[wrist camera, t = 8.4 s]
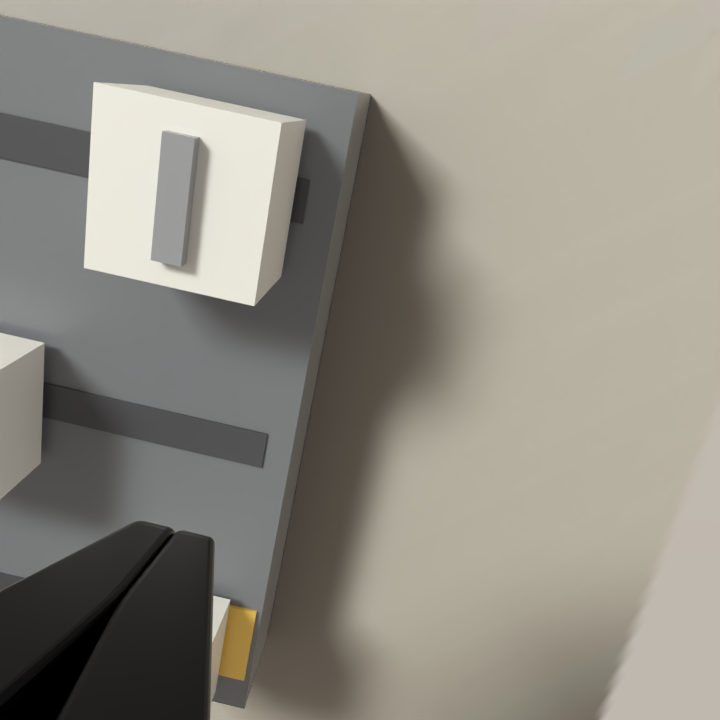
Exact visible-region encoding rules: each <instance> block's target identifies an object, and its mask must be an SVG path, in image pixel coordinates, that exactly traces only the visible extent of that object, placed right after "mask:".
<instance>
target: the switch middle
mask: <svg viewBox="0 0 720 720" xmlns="http://www.w3.org/2000/svg"><path fill="white" fill-rule="evenodd" d="M44 349H45V343H43V342H39V341H34V340H30V339H26V338H21V337H17V336H13V335H8V334H4V333H0V499H1V498H3V497H4V496H5V495H6V494H7V493H8V492H9V491H10V490H11V489H13V488H14V487H15V486H16V485H17V484H18V483H19V482H20V481H21V480H23V479H24V478H25V477H26V476H27V475H28V474H29V473H30V472H31V471H33V470H34V469H35V468H36V467H37V466H38V465H39V464H40V463H41V440H42V410H43V380H44Z"/></svg>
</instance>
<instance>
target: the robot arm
mask: <svg viewBox="0 0 720 720" xmlns="http://www.w3.org/2000/svg"><path fill="white" fill-rule="evenodd" d="M214 556H215V542H214V540H213V539H212V538H211V537H209V536H205V535H201V534H197V533H192V532H188V531H183V530H181V531H178V532H176V533H175V531H174V530H173V529H172V528H170V527H167V526H163V525H159V524H154V523H150V522H146V521H136V522H133V523H131V524H129V525H127V526H125V527H123V528H121V529H119V530H117V531H115V532H113V533H111V534H110V535H108V536H106V537H104V538H102V539H100V540H98V541H96V542H94V543H92V544H90V545H88V546H86V547H84V548H82V549H80V550H78V551H77V552H75V553H73V554H71V555H69V556H67V557H65V558H63V559H61V560H59V561H57V562H55V563H53V564H51V565H49V566H47V567H45V568H44V569H42V570H40V571H38V572H36V573H34V574H32V575H30V576H28V577H26V578H24V579H22V580H20V581H18V582H16V583H14V584H12V585H11V586H9V587H7V588H5V589H3V590H1V591H0V720H210V703H211V666H212V629H213V593H214Z"/></svg>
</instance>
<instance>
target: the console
mask: <svg viewBox="0 0 720 720" xmlns="http://www.w3.org/2000/svg"><path fill="white" fill-rule="evenodd" d="M94 82H101V83H116V84H131V85H146V86H152V87H157V88H161V89H166V90H171V91H175V92H180V93H184V94H189V95H194V96H198V97H203V98H208V99H212V100H217V101H221V102H226V103H231V104H235V105H240V106H245V107H249V108H254V109H258V110H263V111H268V112H272V113H277V114H281V115H286V116H291V117H295V118H300V119H305V120H306V126H305V132H304V138H303V145H302V151H301V157H300V163H299V169H298V176H297V182H296V188H295V194H294V200H293V206H292V213H291V219H290V225H289V231H288V237H287V244H286V250H285V256H284V262H283V268H282V275H281V277H280V279H279V280H278V281H277V282H276V283H275V284H274V285H273V286H272V287H271V288H270V289H269V291H268V292H267V293H266V294H265V295H264V296H263V297H262V298H261V299H260V300H259V302H258V303H257V304H256V305H255V306H251V305H247V304H242V303H238V302H233V301H229V300H224V299H220V298H216V297H211V296H207V295H202V294H198V293H193V292H189V291H184V290H180V289H176V288H171V287H167V286H162V285H158V284H153V283H149V282H144V281H140V280H136V279H131V278H127V277H122V276H118V275H113V274H109V273H104V272H100V271H96V270H91V269H87V268H84V253H85V235H86V216H87V197H88V178H89V159H90V140H91V121H92V102H93V84H94ZM370 98H371V94H367V93H362V92H357V91H353V90H348V89H343V88H339V87H334V86H329V85H325V84H320V83H315V82H311V81H306V80H302V79H297V78H292V77H288V76H283V75H278V74H274V73H269V72H264V71H260V70H255V69H250V68H246V67H241V66H236V65H232V64H227V63H222V62H218V61H213V60H208V59H204V58H199V57H194V56H190V55H185V54H180V53H176V52H171V51H166V50H162V49H157V48H152V47H148V46H143V45H139V44H134V43H129V42H125V41H120V40H115V39H111V38H106V37H101V36H97V35H92V34H87V33H83V32H78V31H73V30H69V29H64V28H59V27H55V26H50V25H45V24H41V23H36V22H31V21H27V20H22V19H17V18H13V17H8V16H3V15H0V333H4V334H8V335H13V336H17V337H21V338H26V339H30V340H34V341H39V342H43V343H45V349H44V380H43V410H42V440H41V463H40V464H39V465H38V466H37V467H36V468H35V469H34V470H33V471H31V472H30V473H29V474H28V475H27V476H26V477H25V478H24V479H23V480H21V481H20V482H19V483H18V484H17V485H16V486H15V487H14V488H13V489H11V490H10V491H9V492H8V493H7V494H6V495H5V496H4V497H3V498H1V499H0V591H1V590H3V589H5V588H7V587H9V586H11V585H12V584H14V583H16V582H18V581H20V580H22V579H24V578H26V577H28V576H30V575H32V574H34V573H36V572H38V571H40V570H42V569H44V568H45V567H47V566H49V565H51V564H53V563H55V562H57V561H59V560H61V559H63V558H65V557H67V556H69V555H71V554H73V553H75V552H77V551H78V550H80V549H82V548H84V547H86V546H88V545H90V544H92V543H94V542H96V541H98V540H100V539H102V538H104V537H106V536H108V535H110V534H111V533H113V532H115V531H117V530H119V529H121V528H123V527H125V526H127V525H129V524H131V523H133V522H136V521H146V522H150V523H154V524H159V525H163V526H167V527H170V528H172V529H173V530H174V531H175V533H176V532H178V531H181V530H183V531H188V532H192V533H197V534H201V535H205V536H209V537H211V538H212V539H213V540H214V542H215V556H214V593H213V596H217V597H221V598H225V599H230V606H229V612H228V618H227V624H226V630H225V637H224V643H223V649H222V655H221V661H220V667H219V673H218V680H217V686H216V692H215V694H214V697H213V700H212V701H214V702H219V703H223V704H227V705H231V706H235V707H239V708H243V709H244V708H245V705H246V702H247V698H248V695H249V692H250V689H251V686H252V683H253V680H254V677H255V674H256V670H257V667H258V664H259V661H260V658H261V655H262V652H263V649H264V646H265V642H266V639H267V635H268V630H269V624H270V619H271V614H272V609H273V604H274V598H275V593H276V588H277V583H278V578H279V572H280V567H281V562H282V557H283V551H284V546H285V541H286V536H287V531H288V525H289V520H290V515H291V510H292V505H293V499H294V494H295V489H296V484H297V478H298V473H299V468H300V463H301V458H302V452H303V447H304V442H305V437H306V431H307V426H308V421H309V416H310V411H311V405H312V400H313V395H314V390H315V385H316V379H317V374H318V369H319V364H320V358H321V353H322V348H323V343H324V338H325V332H326V327H327V322H328V317H329V311H330V306H331V301H332V296H333V291H334V285H335V280H336V275H337V270H338V265H339V259H340V254H341V249H342V244H343V238H344V233H345V228H346V223H347V218H348V212H349V207H350V202H351V197H352V192H353V186H354V181H355V176H356V171H357V165H358V160H359V155H360V150H361V145H362V139H363V134H364V129H365V124H366V118H367V113H368V108H369V103H370Z"/></svg>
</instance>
